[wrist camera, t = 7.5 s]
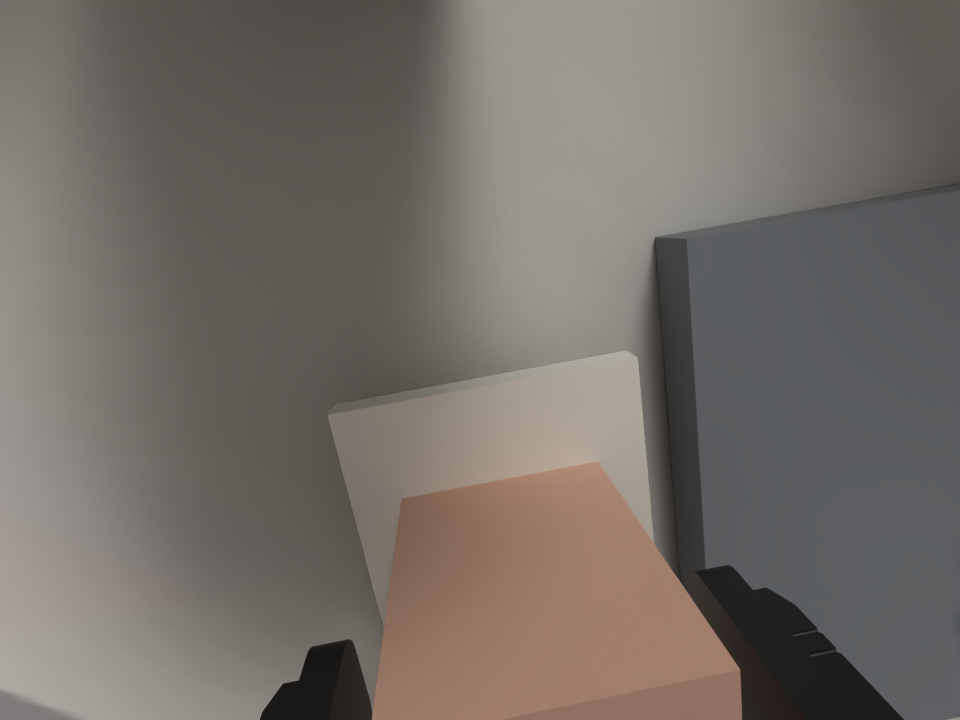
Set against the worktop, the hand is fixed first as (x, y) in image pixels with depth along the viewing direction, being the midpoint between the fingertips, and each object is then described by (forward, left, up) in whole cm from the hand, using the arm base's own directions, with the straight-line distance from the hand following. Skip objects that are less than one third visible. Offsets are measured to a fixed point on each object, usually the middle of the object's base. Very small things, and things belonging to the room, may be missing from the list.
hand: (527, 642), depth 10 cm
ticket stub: (0, 0, -2) cm, 2 cm away
